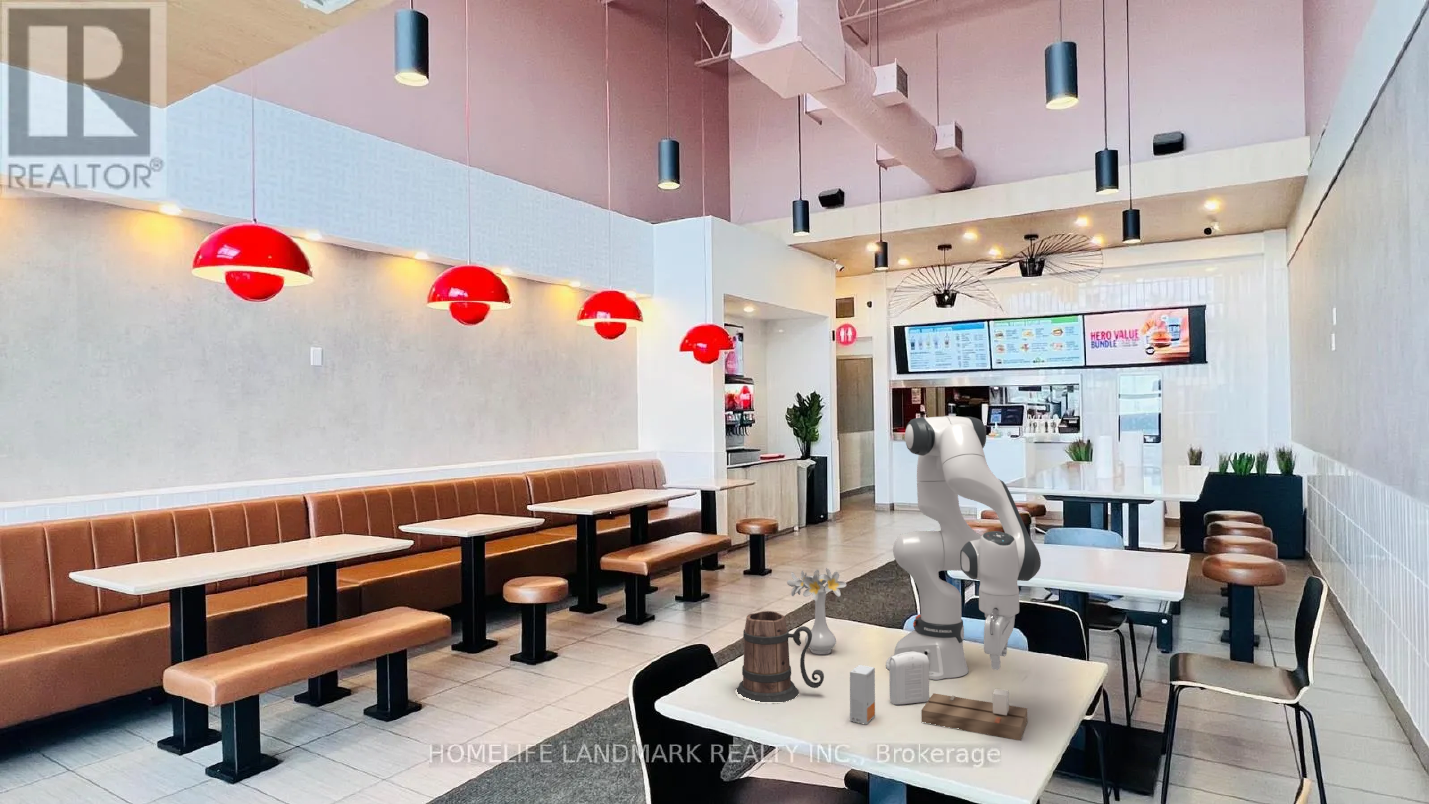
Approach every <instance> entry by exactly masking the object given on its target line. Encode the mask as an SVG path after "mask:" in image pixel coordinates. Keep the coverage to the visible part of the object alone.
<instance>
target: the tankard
mask: <svg viewBox="0 0 1429 804" xmlns="http://www.w3.org/2000/svg"><path fill="white" fill-rule="evenodd" d="M785 616H786V615H784V614H781V613H780V612H776V611H773V610H772V611H771V610H770V611H769V610H764V611H762V610H761V611H759V612H754V613H749V614H748V615H747V616H746V619H745V625H744V629H743V634H742V636H743V665H742V667H741V668H742V669H741V674H742V675H741V676H742V680H741V681H740V683H739V685H738V686H737V687H736V689H737V692H738V694H741V695H742V696H743V697H746V698H749V699H751V700H755V701H760V702H783V703H787V702H790V701H792V699H793V700H795V699H796V698H797V697H798V696H799V695H798V694H800V691H799V689H798V688H797V687H796V685H795V683H794V682H793V680H791V679H792V678H791V676H792V666H791V665H790V662H791V661H790V650H789V649H790V648H789V647H790V644H789V639H790V638H792V640H793V641H794V644H796V645H797V646H798V647H800V646H801V645H802V641H801V632H805V633H806V636H807V635H808V641H807V643H806V642H805V646H804V647H803V649H802V652H801V654H800V660H799V663H800V664H799V667H800V673H801V676H802V679H803V680H804V683H805V684H806V685H807V686H808V687H810V688H813V689H818V688H819V687H820V686H822V684H823V682H824V679H825V674H824V671H822V670H821V669H815V670H813V672H812V673H811V679H812V680H813V681H812V680H811V679H810V677H809V676H808V674H807V671H806V666H805V665H806V664H805V658H806V653H807V650H808V648H809V645H810V643H811V640H812V632H811V630H812V629H810V627H807V626H805V625H802V626H799V627H798V628H796V629H795V630H794V632H793V633H790V632H789V629H788V627H787V621H786V617H785ZM816 675H817V676H819V678H820V679H819V680H818V677H816ZM814 681H817V682H814ZM797 695H798V696H797ZM796 696H797V697H796ZM795 697H796V698H795ZM789 700H790V701H789ZM786 701H787V702H786Z"/></svg>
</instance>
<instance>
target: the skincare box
mask: <svg viewBox="0 0 1429 804" xmlns="http://www.w3.org/2000/svg"><path fill="white" fill-rule="evenodd" d="M875 673H876V668H875V667H873V666H868V665H864V664H863V665H862V664H858V665H857V666H856V667H854V668H853V669H852V670H850V672H849V719H850V720H849V722H851V721H853V722H852V723H855V722H859V723H858V724H860V723H864V724H866V725H868V723H870V721H872V720H873V719H874V718H875V717H876V677H875V676H876V675H875ZM871 719H872V720H871ZM864 724H863V725H864Z"/></svg>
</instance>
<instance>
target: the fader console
mask: <svg viewBox="0 0 1429 804" xmlns="http://www.w3.org/2000/svg"><path fill="white" fill-rule="evenodd" d="M920 712H921V713H920V714H921V717H920V718H921V723H922V722H926V723H931V724H936V725H935V726H937V725H940V726H939V727H942V726H945V727H944V728H948V727H950V728H949V729H953V728H959V729H962V730H961V731H964V730H966V731H965V732H970V733H971V732H972V733H976V734H982V735H986V736H987V735H988V736H992V737H993V736H994V737H1000V738H1005V739H1010V740H1015V741H1022V738H1023V735H1024V733H1025V730H1026V726H1027V724H1028V719H1029V717H1028V716H1029V715H1028V713H1029V712H1028V708H1026V707H1022V706H1015V705H1010V704H1009V711H1008V713H1007V715H1000V714H996V713H993V702H992V701H991V702H990V701H985V700H978V699H971V698H966V697H961V696H959V697H958V696H956V695H946V694H940V693H932V695H931V696H929V700H928V701H927V702H926V703H925V705H924V706H923V707H922V709H921V711H920ZM931 724H930V725H931ZM959 729H958V730H959Z"/></svg>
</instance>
